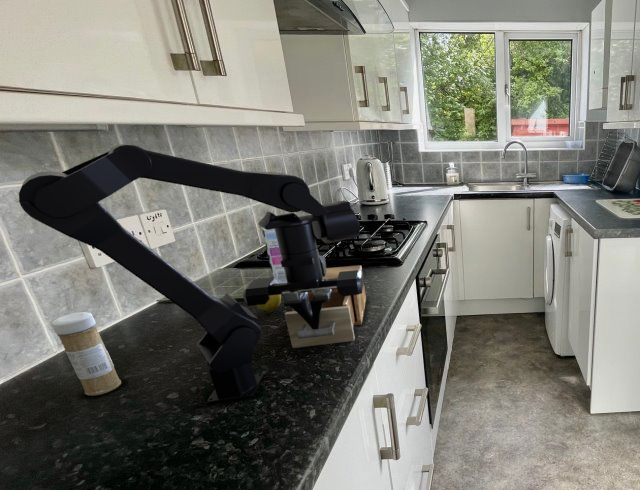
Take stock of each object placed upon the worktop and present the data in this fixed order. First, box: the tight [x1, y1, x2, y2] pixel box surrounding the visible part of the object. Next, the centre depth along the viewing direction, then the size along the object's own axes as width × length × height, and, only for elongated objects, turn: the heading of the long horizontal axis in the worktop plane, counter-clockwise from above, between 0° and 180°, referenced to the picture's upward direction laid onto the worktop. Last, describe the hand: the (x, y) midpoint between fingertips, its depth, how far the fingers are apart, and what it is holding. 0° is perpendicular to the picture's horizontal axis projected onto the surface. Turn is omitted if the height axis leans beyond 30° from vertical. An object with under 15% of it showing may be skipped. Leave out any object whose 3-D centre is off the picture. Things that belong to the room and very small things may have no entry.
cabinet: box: [308, 265, 367, 326], centre depth 94 cm, size 15×13×9 cm
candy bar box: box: [261, 227, 287, 284], centre depth 114 cm, size 11×5×16 cm, turn 25°
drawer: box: [284, 292, 356, 349], centre depth 83 cm, size 18×11×7 cm, turn 14°
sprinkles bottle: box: [50, 311, 122, 397], centre depth 66 cm, size 5×5×13 cm
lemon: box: [255, 294, 282, 313], centre depth 95 cm, size 6×6×8 cm
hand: (316, 328), depth 76 cm, fingers closed, pressing on drawer
